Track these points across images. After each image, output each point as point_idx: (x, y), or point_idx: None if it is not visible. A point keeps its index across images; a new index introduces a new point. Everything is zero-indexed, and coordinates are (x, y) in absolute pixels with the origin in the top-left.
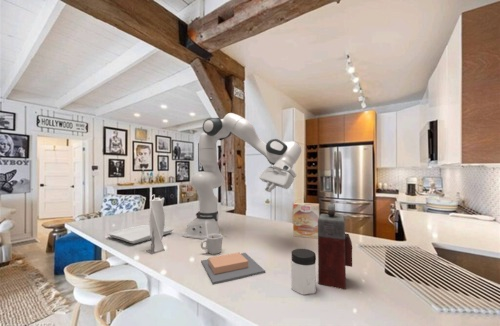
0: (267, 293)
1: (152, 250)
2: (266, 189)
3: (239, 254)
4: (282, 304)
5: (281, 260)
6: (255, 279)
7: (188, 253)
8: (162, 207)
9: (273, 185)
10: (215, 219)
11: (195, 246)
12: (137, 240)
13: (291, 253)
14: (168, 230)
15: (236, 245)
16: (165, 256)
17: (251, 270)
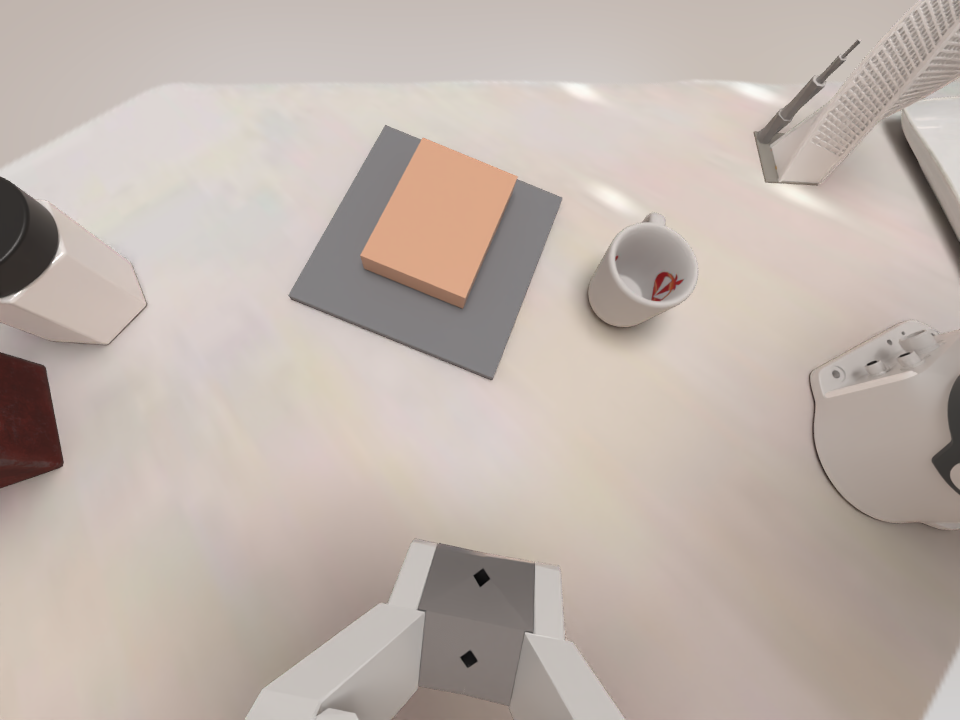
0: (197, 195)
1: (767, 125)
2: (494, 556)
3: (445, 281)
4: (121, 178)
5: (301, 451)
6: (290, 236)
7: (676, 220)
8: None
9: (261, 709)
10: (944, 450)
11: (736, 285)
12: (910, 129)
13: (28, 200)
14: None
15: (620, 437)
16: (703, 152)
17: (336, 260)
